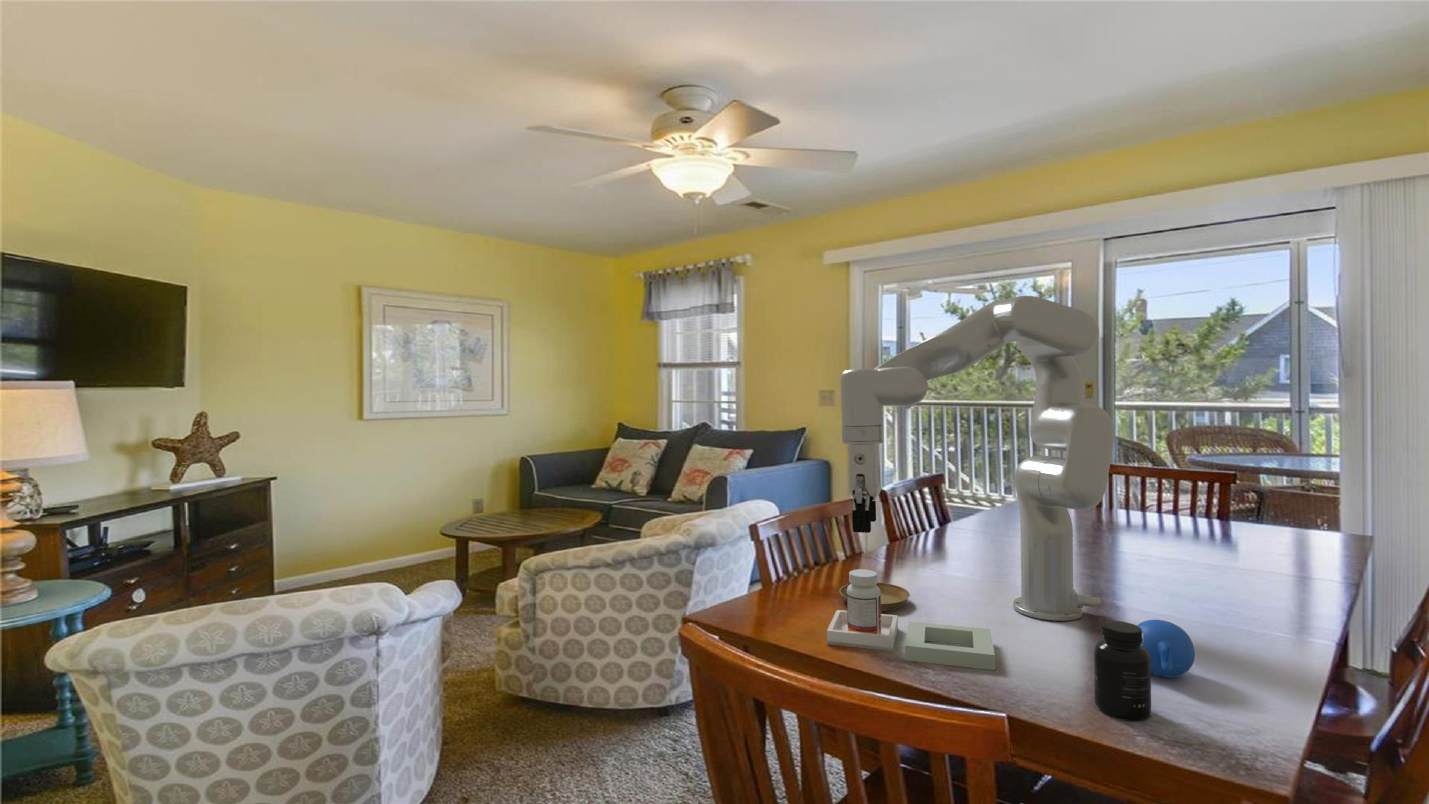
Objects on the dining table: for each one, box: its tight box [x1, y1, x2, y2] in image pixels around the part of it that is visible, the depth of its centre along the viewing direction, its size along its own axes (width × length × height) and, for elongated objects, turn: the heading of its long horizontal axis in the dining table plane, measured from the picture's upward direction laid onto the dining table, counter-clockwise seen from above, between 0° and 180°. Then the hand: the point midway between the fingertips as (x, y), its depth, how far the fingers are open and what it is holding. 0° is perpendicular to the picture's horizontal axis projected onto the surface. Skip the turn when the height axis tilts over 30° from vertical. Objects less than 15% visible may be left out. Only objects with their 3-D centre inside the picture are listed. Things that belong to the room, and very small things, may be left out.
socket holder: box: [904, 621, 996, 671], centre depth 114 cm, size 14×12×2 cm
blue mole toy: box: [1136, 619, 1196, 678], centre depth 104 cm, size 12×12×8 cm
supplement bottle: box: [1093, 620, 1152, 722], centre depth 92 cm, size 7×7×12 cm
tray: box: [826, 609, 899, 652], centre depth 122 cm, size 12×12×2 cm
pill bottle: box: [846, 568, 882, 634], centre depth 122 cm, size 6×6×11 cm
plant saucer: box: [839, 582, 911, 612], centre depth 141 cm, size 15×15×3 cm
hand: (864, 526), depth 122 cm, fingers open, 9 cm apart
